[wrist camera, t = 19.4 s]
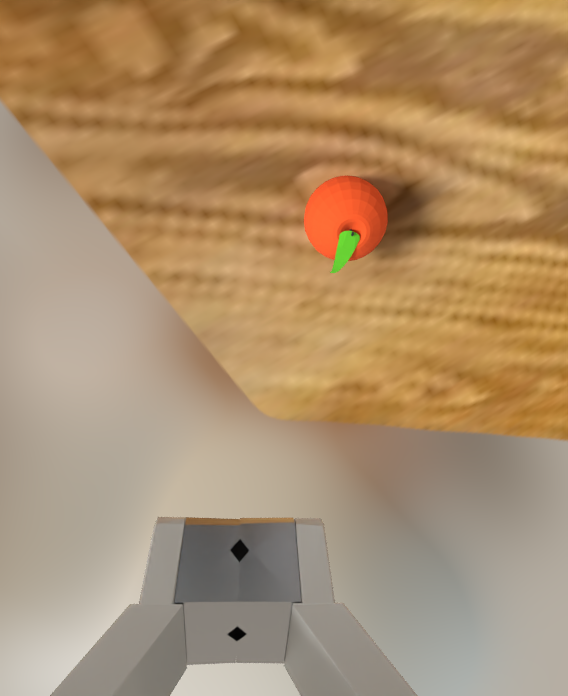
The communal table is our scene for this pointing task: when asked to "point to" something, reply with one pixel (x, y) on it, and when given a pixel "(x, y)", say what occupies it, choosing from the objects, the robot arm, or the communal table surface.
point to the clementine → (345, 219)
